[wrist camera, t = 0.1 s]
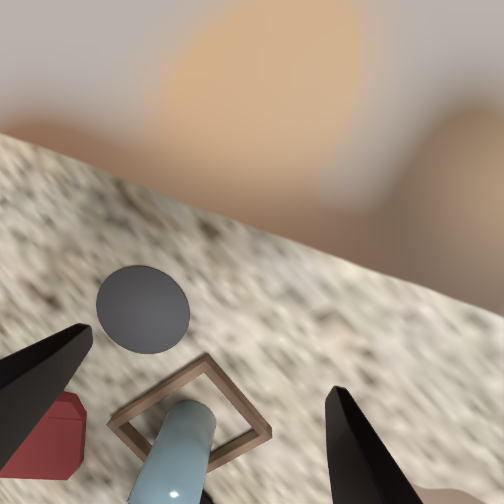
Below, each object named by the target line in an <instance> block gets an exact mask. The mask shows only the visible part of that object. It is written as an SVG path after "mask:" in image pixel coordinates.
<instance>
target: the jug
mask: <svg viewBox="0 0 504 504" xmlns="http://www.w3.org/2000/svg"><path fill="white" fill-rule="evenodd" d="M215 428H216V419H215V416H214V414H213V412H212V411H211V410H210V409H209V408H208V407H207V406H205V405H204V404H202V403H200V402H197V401H191V400H186V401H181V402H178V403H176V404H174V405H173V406H172V407H171V408H170V409H169V411H168V413H167V415H166V418H165V420H164V422H163V424H162V426H161V429H160V431H159V433H158V435H157V437H156V440H155V442H154V444H153V446H152V448H151V451H150V453H149V454H148V456H147V458H146V461H145V463H144V465H143V467H142V469H141V472H140V474H139V476H138V478H137V480H136V483H135V485H134V487H133V489H132V491H131V494H130V496H129V498H128V500H127V503H128V504H199V503H200V498H201V494H202V489H203V484H204V480H205V475H206V470H207V466H208V461H209V456H210V452H211V447H212V442H213V438H214V433H215Z"/></svg>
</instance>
